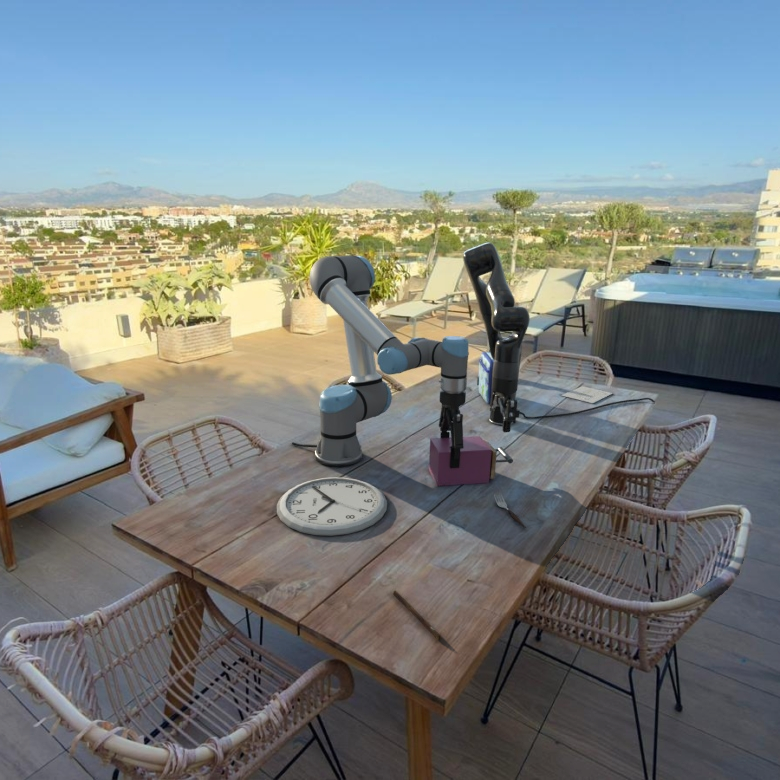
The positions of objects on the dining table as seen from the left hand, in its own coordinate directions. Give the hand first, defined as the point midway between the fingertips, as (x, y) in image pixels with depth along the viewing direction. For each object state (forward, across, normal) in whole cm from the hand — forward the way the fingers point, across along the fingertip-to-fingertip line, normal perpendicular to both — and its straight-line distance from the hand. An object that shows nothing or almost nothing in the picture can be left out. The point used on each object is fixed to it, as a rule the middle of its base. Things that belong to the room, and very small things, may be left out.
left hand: (449, 459), depth 158 cm
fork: (+6, +24, +10) cm, 26 cm away
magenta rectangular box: (+6, 0, +3) cm, 7 cm away
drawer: (+5, 0, +9) cm, 10 cm away
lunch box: (+6, -71, +40) cm, 82 cm away
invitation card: (+6, -72, +87) cm, 113 cm away
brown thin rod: (+6, +57, -23) cm, 62 cm away
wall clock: (+6, +12, -36) cm, 39 cm away
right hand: (-10, 0, +16) cm, 19 cm away
